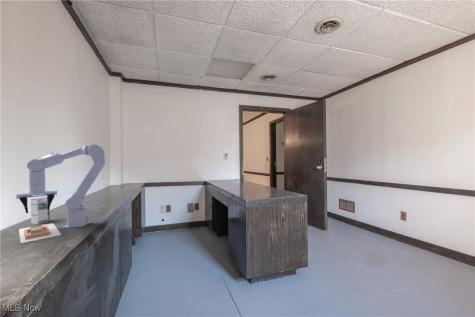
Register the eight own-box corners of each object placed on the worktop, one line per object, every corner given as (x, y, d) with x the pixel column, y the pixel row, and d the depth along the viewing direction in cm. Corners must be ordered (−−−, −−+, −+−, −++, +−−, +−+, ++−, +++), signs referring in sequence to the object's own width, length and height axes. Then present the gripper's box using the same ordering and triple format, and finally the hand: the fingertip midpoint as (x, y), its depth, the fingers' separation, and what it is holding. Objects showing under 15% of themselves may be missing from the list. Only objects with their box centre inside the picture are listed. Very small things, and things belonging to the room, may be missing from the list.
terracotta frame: (24, 233, 99) (23, 229, 99) (46, 228, 105) (46, 225, 105) (25, 239, 91) (25, 236, 91) (49, 234, 97) (49, 231, 97)
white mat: (53, 223, 115) (53, 223, 115) (61, 235, 97) (61, 234, 97) (18, 229, 105) (18, 229, 105) (20, 244, 87) (20, 243, 87)
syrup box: (37, 224, 113) (36, 197, 113) (30, 223, 115) (30, 197, 115) (49, 221, 118) (49, 195, 118) (43, 220, 120) (43, 195, 120)
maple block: (43, 234, 97) (43, 227, 97) (31, 237, 94) (31, 230, 94) (41, 230, 103) (41, 224, 103) (30, 232, 100) (30, 226, 100)
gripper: (55, 181, 112) (55, 207, 112) (16, 184, 102) (16, 212, 102) (57, 182, 108) (57, 209, 108) (16, 185, 97) (16, 215, 97)
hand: (37, 211), depth 104 cm, fingers open, 7 cm apart
